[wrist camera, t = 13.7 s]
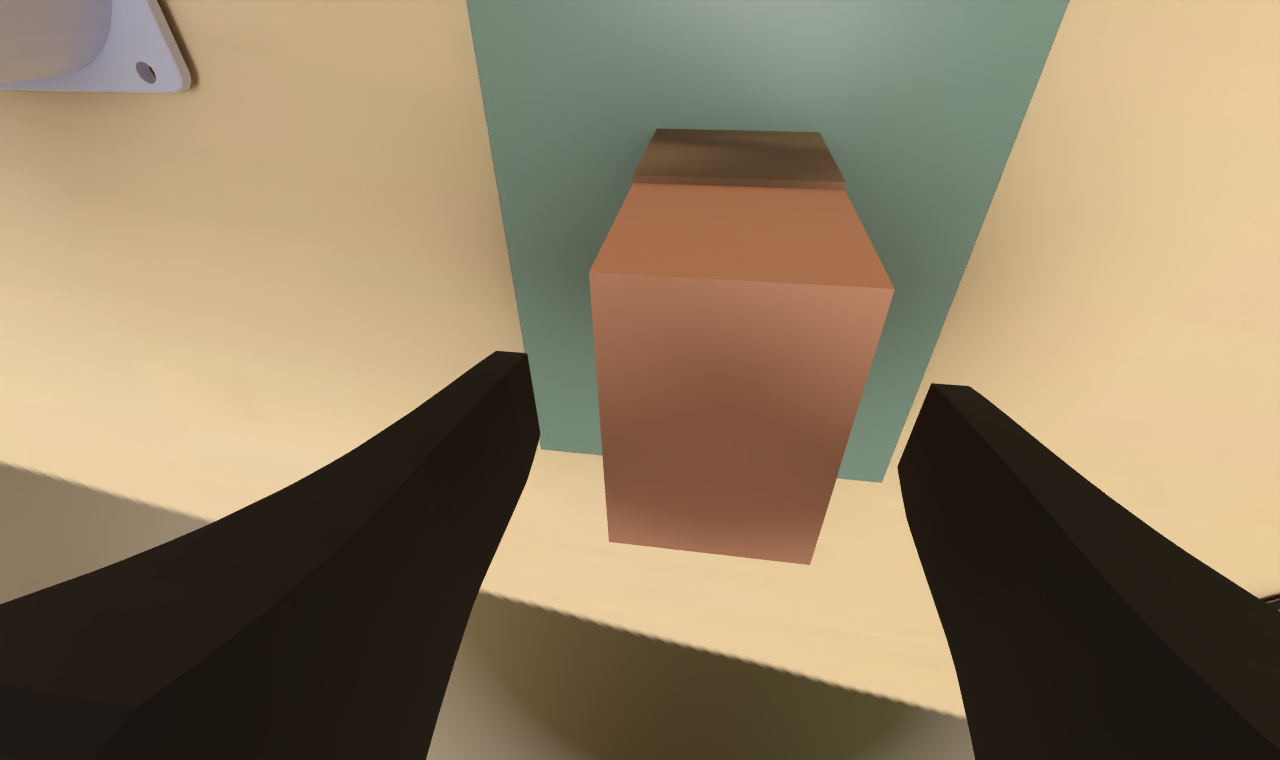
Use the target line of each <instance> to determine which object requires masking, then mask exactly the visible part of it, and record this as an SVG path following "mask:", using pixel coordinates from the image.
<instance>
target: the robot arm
mask: <svg viewBox="0 0 1280 760" xmlns="http://www.w3.org/2000/svg"><path fill="white" fill-rule="evenodd" d="M149 66H150V67H151V68H152V70H153V71H154V73H155V76H156V77H154V76H153V74H152V73H151V71H150V69H149ZM190 86H191V76H190V73H189V70H188V68H187V66H186V63H185V61H184V59H183V57H182V55H181V52H180V50H179V48H178V46H177V43H176V41H175V39H174V37H173V35H172V32H171V30H170V28H169V26H168V24H167V21H166V19H165V17H164V15H163V13H162V10H161V8H160V6H159V4H158V1H157V0H0V90H18V91H73V92H128V93H178V92H182V91H186V90H188V89H189V88H190ZM540 434H541V433H540V427H539V421H538V415H537V409H536V403H535V397H534V391H533V385H532V379H531V373H530V366H529V360H528V354H527V353H517V352H503V351H496V352H494V353H493V354H491V355H489V356H488V357H486V358H485V359H484V360H482V361H481V362H479V363H478V364H477V365H475V366H474V367H472V368H471V369H470V370H468V371H467V372H466V373H464V374H463V375H462V376H460V377H459V378H457V379H456V380H455V381H453V382H452V383H451V384H449V385H448V386H447V387H445V388H444V389H442V390H441V391H440V392H438V393H437V394H435V395H434V396H433V397H431V398H430V399H429V400H427V401H426V402H424V403H423V404H422V405H420V406H419V407H417V408H416V409H415V410H413V411H412V412H410V413H409V414H407V415H406V416H404V417H403V418H401V419H400V420H398V421H397V422H395V423H394V424H392V425H391V426H389V427H388V428H386V429H385V430H383V431H381V432H380V433H378V434H377V435H375V436H374V437H372V438H371V439H369V440H368V441H366V442H365V443H363V444H362V445H360V446H359V447H357V448H355V449H354V450H352V451H350V452H349V453H347V454H345V455H344V456H342V457H340V458H339V459H337V460H335V461H333V462H332V463H330V464H328V465H326V466H325V467H323V468H321V469H319V470H317V471H316V472H314V473H312V474H310V475H308V476H306V477H305V478H303V479H301V480H299V481H297V482H295V483H294V484H292V485H290V486H288V487H286V488H284V489H282V490H280V491H278V492H276V493H274V494H272V495H270V496H267V497H265V498H263V499H261V500H259V501H257V502H255V503H253V504H251V505H249V506H247V507H245V508H243V509H240V510H238V511H236V512H234V513H232V514H230V515H228V516H226V517H224V518H222V519H220V520H218V521H215V522H213V523H211V524H209V525H207V526H204V527H202V528H200V529H197V530H195V531H193V532H190V533H188V534H186V535H183V536H181V537H179V538H176V539H174V540H172V541H170V542H167V543H164V544H162V545H159V546H157V547H155V548H152V549H150V550H147V551H145V552H142V553H140V554H137V555H135V556H132V557H130V558H127V559H125V560H122V561H120V562H117V563H114V564H112V565H109V566H106V567H104V568H101V569H99V570H96V571H94V572H91V573H88V574H85V575H82V576H79V577H77V578H74V579H71V580H68V581H66V582H62V583H60V584H57V585H54V586H51V587H48V588H46V589H43V590H40V591H37V592H34V593H32V594H28V595H26V596H23V597H20V598H17V599H14V600H12V601H9V602H6V603H3V604H0V760H426V757H427V753H428V750H429V747H430V743H431V739H432V736H433V732H434V729H435V725H436V722H437V718H438V715H439V711H440V708H441V705H442V701H443V698H444V695H445V691H446V688H447V685H448V682H449V679H450V675H451V672H452V669H453V665H454V662H455V659H456V656H457V653H458V650H459V646H460V644H461V641H462V637H463V635H464V631H465V628H466V625H467V622H468V619H469V616H470V613H471V610H472V607H473V604H474V601H475V599H476V597H477V594H478V592H479V589H480V587H481V584H482V582H483V579H484V577H485V575H486V573H487V570H488V568H489V566H490V564H491V561H492V559H493V557H494V555H495V552H496V550H497V548H498V546H499V543H500V541H501V539H502V537H503V534H504V532H505V530H506V528H507V525H508V523H509V521H510V519H511V516H512V514H513V512H514V510H515V507H516V505H517V503H518V500H519V498H520V496H521V493H522V491H523V489H524V486H525V484H526V482H527V479H528V476H529V473H530V469H531V466H532V463H533V460H534V456H535V452H536V449H537V445H538V441H539V438H540ZM898 473H899V479H900V485H901V492H902V497H903V502H904V507H905V512H906V517H907V521H908V524H909V527H910V531H911V534H912V537H913V540H914V543H915V546H916V549H917V552H918V555H919V558H920V561H921V564H922V567H923V570H924V573H925V576H926V579H927V582H928V585H929V588H930V591H931V594H932V597H933V600H934V603H935V606H936V609H937V611H938V614H939V617H940V620H941V623H942V626H943V629H944V632H945V635H946V638H947V641H948V645H949V648H950V652H951V655H952V658H953V662H954V665H955V669H956V673H957V677H958V682H959V686H960V691H961V695H962V700H963V704H964V708H965V713H966V717H967V722H968V726H969V731H970V735H971V740H972V745H973V750H974V755H975V760H1280V611H1278V610H1277V609H1275V608H1273V607H1272V606H1270V605H1269V604H1267V603H1265V602H1264V601H1262V600H1260V599H1259V598H1257V597H1255V596H1254V595H1252V594H1251V593H1249V592H1247V591H1246V590H1244V589H1243V588H1241V587H1240V586H1238V585H1237V584H1235V583H1234V582H1232V581H1230V580H1229V579H1227V578H1226V577H1224V576H1223V575H1221V574H1220V573H1218V572H1217V571H1215V570H1214V569H1212V568H1210V567H1209V566H1207V565H1206V564H1204V563H1203V562H1201V561H1200V560H1198V559H1197V558H1195V557H1193V556H1192V555H1190V554H1189V553H1187V552H1186V551H1184V550H1183V549H1182V548H1180V547H1179V546H1177V545H1176V544H1174V543H1173V542H1171V541H1170V540H1168V539H1167V538H1165V537H1164V536H1163V535H1161V534H1160V533H1158V532H1157V531H1155V530H1154V529H1153V528H1151V527H1150V526H1149V525H1147V524H1146V523H1144V522H1143V521H1142V520H1140V519H1139V518H1138V517H1136V516H1135V515H1134V514H1132V513H1131V512H1129V511H1128V510H1127V509H1125V508H1124V507H1123V506H1121V505H1120V504H1118V503H1117V502H1116V501H1114V500H1113V499H1112V498H1110V497H1109V496H1108V495H1106V494H1105V493H1104V492H1102V491H1101V490H1100V489H1098V488H1097V487H1096V486H1095V485H1093V484H1092V483H1091V482H1089V481H1088V480H1087V479H1085V478H1084V477H1083V476H1082V475H1080V474H1079V473H1078V472H1076V471H1075V470H1074V469H1073V468H1071V467H1070V466H1069V465H1068V464H1066V463H1065V462H1064V461H1063V460H1061V459H1060V458H1059V457H1058V456H1056V455H1055V454H1054V453H1053V452H1051V451H1050V450H1049V449H1048V448H1047V447H1045V446H1044V445H1043V444H1042V443H1040V442H1039V441H1038V440H1037V439H1035V438H1034V437H1033V436H1032V435H1031V434H1029V433H1028V432H1027V431H1026V430H1024V429H1023V428H1022V427H1021V426H1020V425H1018V424H1017V423H1016V422H1015V421H1013V420H1012V419H1011V418H1010V417H1009V416H1007V415H1006V414H1005V413H1004V412H1002V411H1001V410H1000V409H999V408H997V407H996V406H995V405H994V404H992V403H991V402H990V401H989V400H987V399H986V398H985V397H983V396H982V395H981V394H979V393H978V392H977V391H975V390H974V389H972V388H971V387H969V386H960V385H946V384H933V383H931V385H930V388H929V390H928V393H927V395H926V398H925V400H924V403H923V405H922V408H921V410H920V413H919V415H918V417H917V420H916V422H915V425H914V427H913V430H912V432H911V435H910V437H909V440H908V442H907V445H906V447H905V449H904V452H903V454H902V457H901V459H900V462H899V464H898Z"/></svg>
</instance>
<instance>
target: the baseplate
mask: <svg viewBox="0 0 1280 760" xmlns="http://www.w3.org/2000/svg"><path fill="white" fill-rule="evenodd" d="M466 1H467V7H468V13H469V19H470V25H471V31H472V37H473V43H474V49H475V55H476V61H477V67H478V73H479V79H480V85H481V91H482V97H483V103H484V109H485V115H486V121H487V127H488V133H489V139H490V145H491V151H492V157H493V163H494V169H495V175H496V181H497V187H498V193H499V199H500V205H501V211H502V217H503V223H504V229H505V235H506V241H507V247H508V253H509V259H510V265H511V271H512V277H513V283H514V289H515V295H516V301H517V307H518V313H519V319H520V325H521V331H522V337H523V343H524V349H525V353H527V354H528V360H529V366H530V373H531V379H532V385H533V391H534V397H535V403H536V409H537V415H538V421H539V427H540V433H541V434H540V438H539V440H540V446H541V449H544V450H554V451H564V452H574V453H584V454H595V455H603V454H602V440H601V427H600V413H599V400H598V387H597V373H596V360H595V347H594V333H593V320H592V306H591V293H590V280H589V271H590V269H591V267H592V265H593V263H594V261H595V259H596V257H597V255H598V253H599V251H600V249H601V247H602V245H603V243H604V241H605V239H606V237H607V235H608V233H609V231H610V229H611V227H612V225H613V223H614V221H615V219H616V217H617V215H618V213H619V211H620V209H621V207H622V205H623V203H624V201H625V199H626V197H627V195H628V193H629V191H630V189H631V186H632V184H633V174H634V172H635V170H636V168H637V166H638V164H639V162H640V160H641V158H642V157H643V155H644V153H645V151H646V149H647V147H648V145H649V143H650V141H651V139H652V137H653V135H654V133H655V131H656V129H657V128H660V129H703V130H746V131H789V132H820V134H821V136H822V138H823V140H824V142H825V144H826V146H827V147H828V149H829V151H830V153H831V155H832V157H833V159H834V161H835V162H836V164H837V166H838V168H839V170H840V172H841V174H842V176H843V177H844V179H845V181H846V185H845V189H844V190H845V192H846V194H847V196H848V198H849V200H850V202H851V203H852V205H853V207H854V209H855V211H856V213H857V215H858V217H859V219H860V221H861V223H862V225H863V227H864V229H865V231H866V233H867V235H868V237H869V239H870V241H871V243H872V245H873V247H874V249H875V251H876V253H877V255H878V257H879V259H880V261H881V263H882V265H883V267H884V269H885V271H886V273H887V275H888V277H889V279H890V281H891V283H892V284H893V286H894V288H895V290H894V293H893V296H892V300H891V303H890V306H889V309H888V313H887V316H886V319H885V322H884V326H883V329H882V332H881V335H880V339H879V342H878V345H877V348H876V352H875V355H874V358H873V361H872V365H871V368H870V371H869V374H868V378H867V381H866V384H865V387H864V391H863V394H862V397H861V400H860V404H859V407H858V410H857V413H856V417H855V420H854V423H853V426H852V430H851V433H850V436H849V439H848V443H847V446H846V449H845V452H844V456H843V459H842V462H841V465H840V469H839V472H838V475H837V478H840V479H850V480H860V481H871V482H881V483H882V481H883V478H884V475H885V473H886V470H887V468H888V465H889V463H890V460H891V457H892V455H893V452H894V450H895V447H896V445H897V442H898V440H899V437H900V434H901V432H902V429H903V427H904V424H905V422H906V419H907V416H908V414H909V411H910V409H911V406H912V404H913V401H914V398H915V396H916V393H917V391H918V388H919V386H920V383H921V381H922V378H923V375H924V373H925V370H926V368H927V365H928V363H929V360H930V357H931V355H932V352H933V350H934V347H935V345H936V342H937V339H938V337H939V334H940V332H941V329H942V327H943V324H944V322H945V319H946V316H947V314H948V311H949V309H950V306H951V304H952V301H953V298H954V296H955V293H956V291H957V288H958V286H959V283H960V280H961V278H962V275H963V273H964V270H965V268H966V265H967V263H968V260H969V257H970V255H971V252H972V250H973V247H974V245H975V242H976V239H977V237H978V234H979V232H980V229H981V227H982V224H983V221H984V219H985V216H986V214H987V211H988V209H989V206H990V204H991V201H992V198H993V196H994V193H995V191H996V188H997V186H998V183H999V180H1000V178H1001V175H1002V173H1003V170H1004V168H1005V165H1006V162H1007V160H1008V157H1009V155H1010V152H1011V150H1012V147H1013V145H1014V142H1015V139H1016V137H1017V134H1018V132H1019V129H1020V127H1021V124H1022V121H1023V119H1024V116H1025V114H1026V111H1027V109H1028V106H1029V103H1030V101H1031V98H1032V96H1033V93H1034V91H1035V88H1036V86H1037V83H1038V80H1039V78H1040V75H1041V73H1042V70H1043V68H1044V65H1045V62H1046V60H1047V57H1048V55H1049V52H1050V50H1051V47H1052V44H1053V42H1054V39H1055V37H1056V34H1057V32H1058V29H1059V27H1060V24H1061V21H1062V19H1063V16H1064V14H1065V11H1066V9H1067V6H1068V3H1069V1H1070V0H466Z"/></svg>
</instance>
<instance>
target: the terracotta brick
mask: <svg viewBox="0 0 1280 760" xmlns="http://www.w3.org/2000/svg"><path fill="white" fill-rule="evenodd" d="M589 280H590V293H591V306H592V320H593V333H594V347H595V360H596V373H597V387H598V400H599V413H600V427H601V440H602V454H603V467H604V480H605V494H606V507H607V520H608V534H609V542H615V543H624V544H633V545H641V546H650V547H659V548H668V549H676V550H685V551H694V552H702V553H711V554H720V555H728V556H737V557H746V558H754V559H763V560H772V561H780V562H789V563H798V564H806V565H810V563H811V560H812V556H813V553H814V550H815V547H816V543H817V540H818V537H819V534H820V530H821V527H822V524H823V521H824V517H825V514H826V511H827V508H828V504H829V501H830V498H831V495H832V491H833V488H834V485H835V482H836V478H837V475H838V472H839V469H840V465H841V462H842V459H843V456H844V452H845V449H846V446H847V443H848V439H849V436H850V433H851V430H852V426H853V423H854V420H855V417H856V413H857V410H858V407H859V404H860V400H861V397H862V394H863V391H864V387H865V384H866V381H867V378H868V374H869V371H870V368H871V365H872V361H873V358H874V355H875V352H876V348H877V345H878V342H879V339H880V335H881V332H882V329H883V326H884V322H885V319H886V316H887V313H888V309H889V306H890V303H891V300H892V296H893V293H894V290H895V288H894V286H893V284H892V283H891V281H890V279H889V277H888V275H887V273H886V271H885V269H884V267H883V265H882V263H881V261H880V259H879V257H878V255H877V253H876V251H875V249H874V247H873V245H872V243H871V241H870V239H869V237H868V235H867V233H866V231H865V229H864V227H863V225H862V223H861V221H860V219H859V217H858V215H857V213H856V211H855V209H854V207H853V205H852V203H851V202H850V200H849V198H848V196H847V194H846V192H845V190H834V189H804V188H774V187H743V186H713V185H683V184H653V183H633V184H632V186H631V189H630V191H629V193H628V195H627V197H626V199H625V201H624V203H623V205H622V207H621V209H620V211H619V213H618V215H617V217H616V219H615V221H614V223H613V225H612V227H611V229H610V231H609V233H608V235H607V237H606V239H605V241H604V243H603V245H602V247H601V249H600V251H599V253H598V255H597V257H596V259H595V261H594V263H593V265H592V267H591V269H590V271H589Z"/></svg>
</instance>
